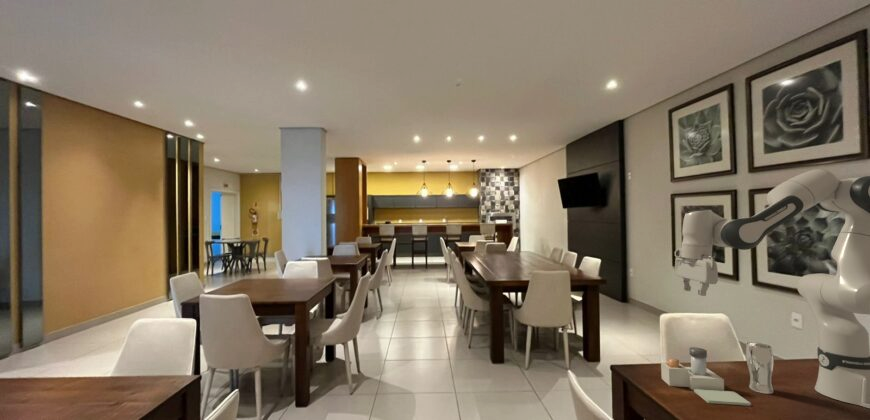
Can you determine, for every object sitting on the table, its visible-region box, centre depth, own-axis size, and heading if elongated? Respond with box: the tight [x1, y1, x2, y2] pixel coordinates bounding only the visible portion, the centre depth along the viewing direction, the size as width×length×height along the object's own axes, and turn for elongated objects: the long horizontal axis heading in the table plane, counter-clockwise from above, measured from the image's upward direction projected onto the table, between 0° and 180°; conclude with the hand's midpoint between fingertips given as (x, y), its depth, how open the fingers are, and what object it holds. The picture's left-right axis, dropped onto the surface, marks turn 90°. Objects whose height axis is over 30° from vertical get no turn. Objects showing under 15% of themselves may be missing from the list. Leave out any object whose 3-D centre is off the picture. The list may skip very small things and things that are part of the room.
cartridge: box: [688, 346, 708, 376], centre depth 126 cm, size 5×5×12 cm
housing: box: [660, 361, 725, 391], centre depth 127 cm, size 16×10×6 cm, turn 81°
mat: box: [693, 389, 752, 407], centre depth 116 cm, size 12×8×1 cm, turn 81°
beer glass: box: [745, 341, 774, 395], centre depth 122 cm, size 7×7×15 cm
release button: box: [668, 357, 680, 368], centre depth 128 cm, size 3×3×4 cm
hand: (694, 293), depth 126 cm, fingers open, 8 cm apart
